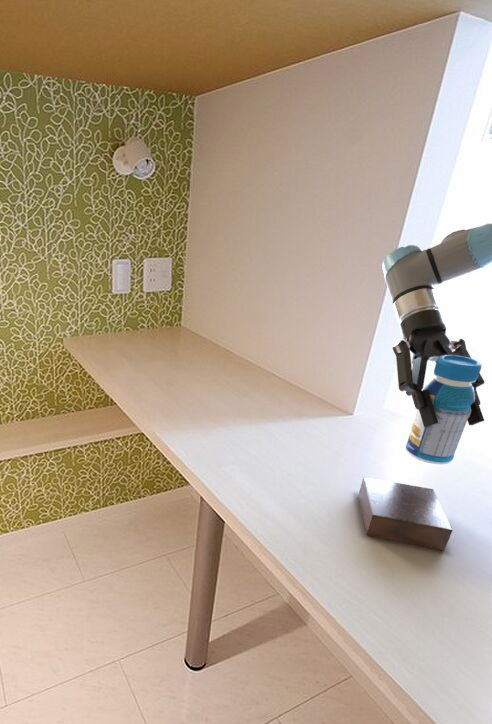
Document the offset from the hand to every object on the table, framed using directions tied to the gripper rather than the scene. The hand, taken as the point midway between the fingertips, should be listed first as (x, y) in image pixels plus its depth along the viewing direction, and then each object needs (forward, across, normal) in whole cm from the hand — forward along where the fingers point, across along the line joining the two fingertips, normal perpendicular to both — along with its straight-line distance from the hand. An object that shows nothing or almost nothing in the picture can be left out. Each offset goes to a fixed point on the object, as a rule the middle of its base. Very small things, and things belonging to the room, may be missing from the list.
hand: (453, 423), depth 80 cm
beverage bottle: (+4, 0, -9) cm, 9 cm away
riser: (+16, +11, -6) cm, 21 cm away
